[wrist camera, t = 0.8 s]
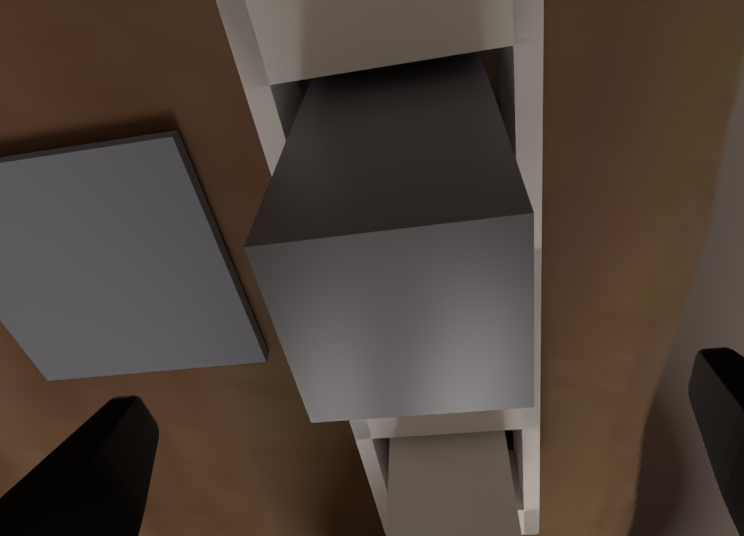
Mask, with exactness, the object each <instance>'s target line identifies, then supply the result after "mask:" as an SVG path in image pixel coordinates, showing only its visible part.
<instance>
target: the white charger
mask: <svg viewBox="0 0 744 536" xmlns="http://www.w3.org/2000/svg"><path fill="white" fill-rule="evenodd" d="M387 536H522V534H521V528H520V522H519V516H518V509H517V503H516V497H515V491H514V485H513V479H512V473H511V466H510V460H509V454H508V448H507V442H506V436H505V430H501V431H486V432H470V433H454V434H439V435H423V436H407V437H392V438H390V443H389V477H388V510H387Z"/></svg>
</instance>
